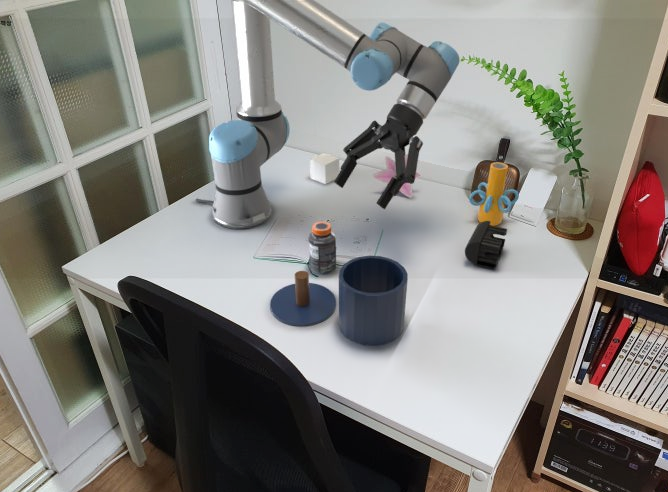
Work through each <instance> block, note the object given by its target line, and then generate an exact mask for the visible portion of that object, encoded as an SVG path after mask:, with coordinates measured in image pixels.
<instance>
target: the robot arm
mask: <svg viewBox="0 0 668 492" xmlns="http://www.w3.org/2000/svg"><path fill="white" fill-rule="evenodd" d="M230 2H231V10H232V12H231V13H232V21H233V31H234V42H235V51H236V53H235V54H236V63H237V71H238V83H239V91H240V93H239V94H240V102H239V103H238V105H236V107H235V111H236V113H235V114H236V119H234V120H229V121H227V122H222V123H220V124H218V125H217V126H215V127H214V128H213V129H212V130H211V131H210V133H209V137H208V142H209V143H208V144H209V145H208V146H209V147H208V150H209V154H210V158H211V159H210V160H211V165H212V172H213V179H214V185H215V195H214V199H213V200H209V199H200V198H196V199H195V202H197V203H201V204H211V205H212V208H211V209H212V211H211V213H212V219H213V221H214V222H215V223H216V224H217V225H218V226H220V227H223V228H226V229H234V230H243V229H249V228H254V227H257V226H260V225H262V224H264V223H265V222H267V221H268V220H269V219H270V217H271V216H272V205H271V202H270V201H269V199H268V196H267V194H266V191H265V190H264V187H263V184H262V174H261V173H262V172H261V167H262V166H263V165H264V164H265V163H266V162H268V161H269V160H270V159H271V158H272V157H274V155H276V154H277V153H279V152H280V151H281V150H282V149H283V147H284V146H285V145H286V143H287V142H288V139H289V136H290V131H291V130H290V123H289V120H288V117H287V116H286V115H285V114H284V112H283V110H282V109H283V108H282V105H281V103H279V101H277V100H276V93H275V91H276V90H275V79H274V78H275V77H274V63H273V62H274V61H273V46H272V45H273V44H272V31H271V30H272V29H271V20H272V21H273V22H275V23H276V24H278V25H279V26H281V27H282V28H284V29H285V30H287V31H288V32H290V33H291V34H292V35H294V36H296V37H297V38H299V39H300V40H302V41H303V42H305V43H306V44H308V45H310V46H311V47H312V48H314V49H315V50H317V51H319V52H320V53H321V54H323V55H325V57H328V58H329V59H331V60H332V61H334V62H335V63H336V64H338V65H339V66H341V67H342V68H344V69H345V70H347V71H348V72H350V77H351V79H352V81H353V83H354V84H355V85H356V86H357V87H358V88H359V89H361V90H364V91H369V92H370V91H375V90H378V89H380V88H381V87H383V86H385V85H386V84H387V83H388V82H390V80H391V79H392V77H393V76H394V75H395V74H398V75H400V76H401V77H403V78H405V79H407V80H408V81H407V83H406V85H405V86H404V88H403V89H402V91H401V93H400V94H399V95H398V97H397V99H396V103H394V104H393V105H392V107H391V108H390V111H389V112H388V114H387V116H386V120H385V123H384V124H383V125H381V124H379V122H377V120H373V121H372V122H371V123H370V124H369V126H368V127H367V128H366V129H364V130H363V132H361V133H360V134H358V135H357V137H355V138H354V139H353V140H351V142H349V143H348V144H347V145H346V146H345V147H343V150H342V151H343V152H344V153H345V155H346V158H345V159H344V161H343V163H342V164H341V165H340V170H339V174H338V176H337V178H336V179H335V180H333V183H334V184H336V185H337V186H338V187H339V188H342V189H343V188H344V186H345V185H346V183H347V181H348V180H349V178H350V177H351V175H352V173H353V171H354V170H355V169H356V167H357V165H358V162H357V161H358V160H360V159H362V158H363V157H365V156H367V155H369V154H371V153H373V152H375V151H377V150H380V149H385V150H387V151H391V152H392V153H394V161H395V165H396V176H395V177H396V178H397V179H396V178H394V177H392V178H391V180H390V182H389V183H388V185H387V184H386V187H385V188H384V189H383V191H382V192H381V194H380V196H379V198H378V199H377V200H376V202H375V203H376V205H377V206H378V207H380V208H381V209H383V210H386V208H387V207H388V205H389V203H390V202H391V200H392V199H393V197H396V196H397V195H398V194H399V192H400V191H399V190H400V189H401V187H402V186H403V184H405V183H410V184H411V185H413V184H415V182H416V179H415V175H416V173H417V168H418V161H419V155H420V151H421V149H422V147H423V145H424V142H423V141H422V140H421V138H420V137H419V136H417V134H418V132H419V131H420V129H421V127H422V126H423V124H424V120H425V119H427V118H428V115H429V114H430V113H431V111H432V109H433V108H434V106H435V104H436V103H437V101H438V99H440V97H441V95H442V93H443V92H444V91H445V89H446V87H447V86H448V83H450V81H451V79H452V77H453V75H454V74H455V71H456V70H457V68H458V66H459V64H460V55H459V53H458V51H457V50H456V49H455V48H454V47H453V46H451V45H450V44H449V43H446V42H442V41H440V40H435V41H433V42H431V44H430V45H428V46H426V45H424V44H422V43H420V42H419V41H417V40H415V39H413V38H412V37H410V36H408V35H407V34H406V33H403V32H402V31H401V30H399V29H398V28H396V26H391V24H390V25H389V24H388V23H386V22H379V23H377V25H376V26H375V27H374V28H373V30H372V32H370V35H369V36H368V35H367V34H365V33H364V32H363V31H361V30H360V29H359V28H357V27H355V26H354V25H352V24H351V23H349V22H348V21H346V20H345V19H343V18H341V17H340V16H339V15H337V14H335V13H334V12H333V11H332V10H330V9H328V8H327V7H325V6H324V5H322V4H321V3H320V2H317V1H316V0H231V1H230ZM407 146H409V147H408V150H407V151H408V153H407V154H408V158H407V164H406V166H405V155H406V147H407Z"/></svg>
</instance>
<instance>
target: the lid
mask: <svg viewBox="0 0 668 492" xmlns="http://www.w3.org/2000/svg"><path fill="white" fill-rule="evenodd" d="M269 308H270V312H271V313H272V316H273V317H274V318H275V319H276V320H278V321H280V322H282V323H283V324H286V325H289V326H293V327H294V326H295V327H308V326H313V325H314V326H315V325H317V324H320V323H322V322H324V321H326V320H328V319H329V318H330V317H331V316H332V315H333V314H334V312H335V310H336V308H337V299H336V296H335V294H334V293H333V292H332V291H331V290H330V289H329V288H327V287H325V286H323V285H321V284H318V283H313V282H310V275H309V272H308V271H306V270H298V271H296V272H295V273H294V283H291V284H287V285H286V286H282V287H281V288H280V289H278V290H277V291H276V292H275V293H274V294H273V295H272V297H271V299H270V302H269Z"/></svg>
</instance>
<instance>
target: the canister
mask: <svg viewBox="0 0 668 492" xmlns="http://www.w3.org/2000/svg"><path fill="white" fill-rule="evenodd" d="M408 280H409V279H408V271H407V270H406V268H405V267H404V266H403V264H401V263H400V262H398V261H396V260H395V259H392V258H389V257H386V256H381V255H362V256H358V257H354V258H352V259H350V260H348V261H346V262H345V263H343V265H342V266H341V267H340V269H339V271H338V326H339V330H340V332H341V333H342V334H343V335H344V337H345V338H346V339H348V340H350V341H351V342H353V343H355V344H358V345H362V346H368V347H369V346H370V347H378V346H384V345H387V344H390V343H392V342H394V341H395V340H397V339H398V338H399V337H400V336H401V335H402V333H403V331H404V326H405V314H406V303H407V290H408Z"/></svg>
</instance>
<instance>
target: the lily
mask: <svg viewBox="0 0 668 492" xmlns="http://www.w3.org/2000/svg"><path fill="white" fill-rule="evenodd" d="M407 158H408V153H406V154H405V166H406V164H407ZM384 159H385V166H386V168H385V169H382V170H380V171H378V172H376V173H374V174H373V175H372V178H373V180H376V181H378V182H381V183H383V184H386V186H387V185H388V183H389V182H390V180H391V178H392V177H394V178H396V177H395V176H396V165H395V160H393V159H392V158H391V157H389V156H385V158H384ZM420 177H422V175H421V174H420V173H418V172H416V175H415V180H417V179H419V178H420ZM396 179H397V178H396ZM412 188H413V187H412V184H410V183H405V184H403V186H402V187H401V189H400V190H399V192H400V193H402V194H403V195H404V196H406V197H407V198H410V199H412V198H413V189H412Z"/></svg>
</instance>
